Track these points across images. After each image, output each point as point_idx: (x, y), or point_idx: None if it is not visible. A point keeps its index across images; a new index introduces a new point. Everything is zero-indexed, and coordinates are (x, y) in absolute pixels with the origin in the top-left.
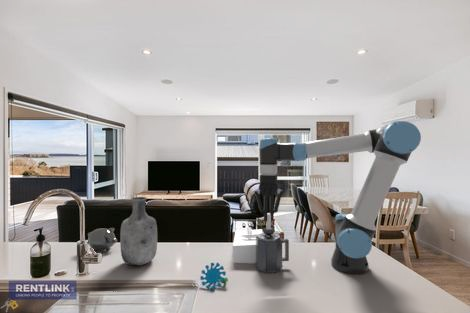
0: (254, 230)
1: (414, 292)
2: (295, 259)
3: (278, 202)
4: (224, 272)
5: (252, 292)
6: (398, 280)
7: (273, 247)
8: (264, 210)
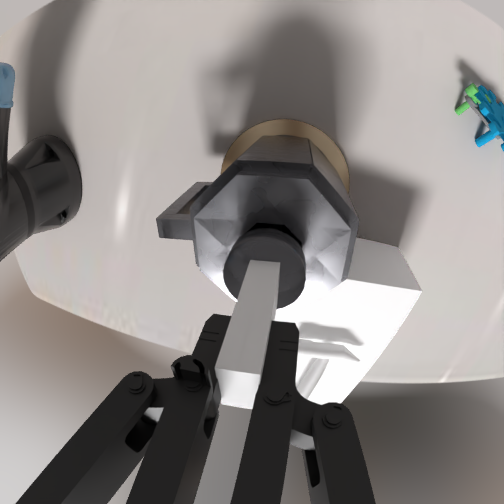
0: None
1: None
2: (170, 244)
3: (67, 463)
4: (486, 106)
5: (383, 33)
6: None
7: (264, 153)
8: (289, 432)
